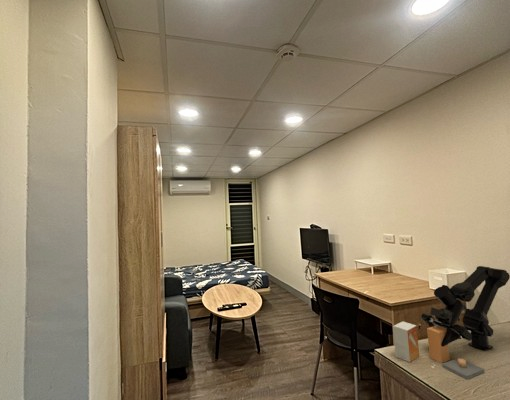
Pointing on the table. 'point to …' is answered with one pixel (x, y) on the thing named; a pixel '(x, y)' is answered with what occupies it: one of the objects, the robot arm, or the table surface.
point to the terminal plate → (463, 368)
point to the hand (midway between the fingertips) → (435, 343)
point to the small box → (406, 341)
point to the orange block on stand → (437, 344)
